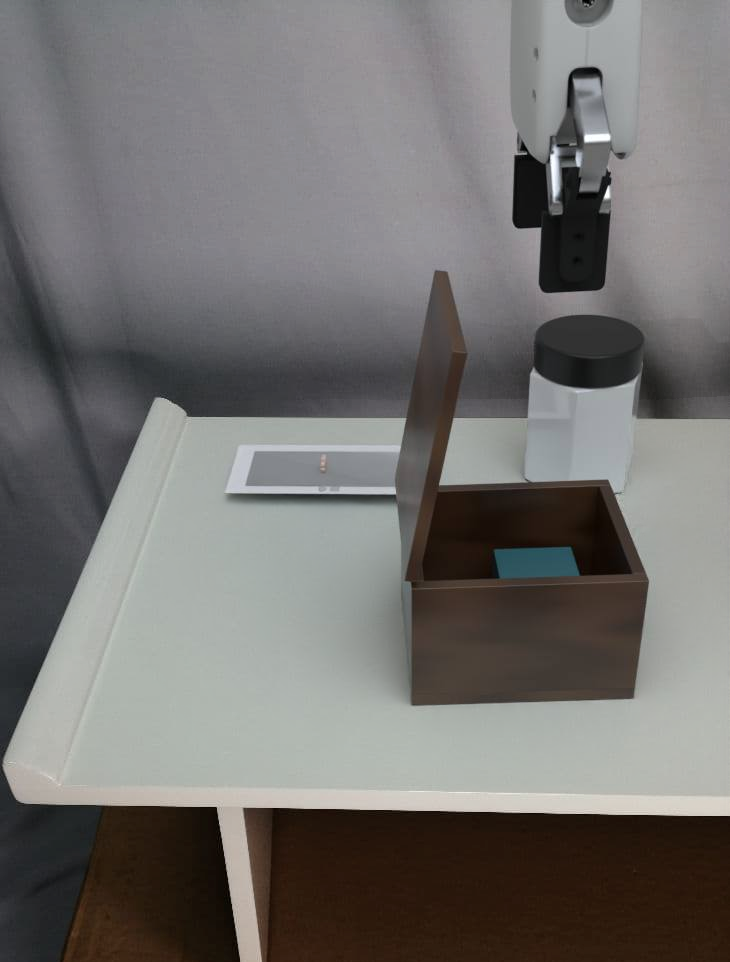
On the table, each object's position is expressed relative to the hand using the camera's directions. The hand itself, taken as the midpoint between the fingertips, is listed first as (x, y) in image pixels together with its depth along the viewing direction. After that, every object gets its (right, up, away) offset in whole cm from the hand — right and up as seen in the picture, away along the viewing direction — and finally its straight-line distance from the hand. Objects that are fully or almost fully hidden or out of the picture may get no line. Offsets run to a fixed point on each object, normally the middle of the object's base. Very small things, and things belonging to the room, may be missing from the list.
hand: (554, 255), depth 63 cm
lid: (-6, -8, +6) cm, 12 cm away
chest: (0, -22, +14) cm, 26 cm away
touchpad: (-12, -10, +33) cm, 37 cm away
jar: (+8, -10, +32) cm, 35 cm away
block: (+1, -21, +14) cm, 25 cm away
